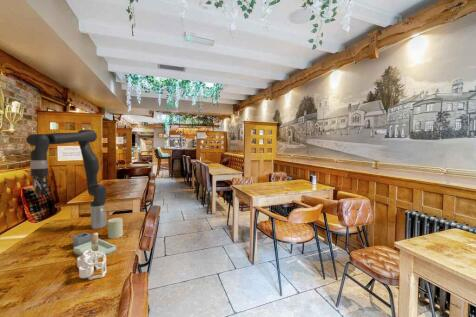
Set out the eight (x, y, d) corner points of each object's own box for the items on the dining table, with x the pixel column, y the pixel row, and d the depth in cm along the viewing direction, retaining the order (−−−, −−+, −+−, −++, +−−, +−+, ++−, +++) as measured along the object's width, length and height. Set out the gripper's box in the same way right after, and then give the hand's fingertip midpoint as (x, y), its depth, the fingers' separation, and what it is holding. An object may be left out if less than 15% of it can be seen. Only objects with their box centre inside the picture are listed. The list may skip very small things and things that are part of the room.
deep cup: (85, 241, 137) (85, 232, 136) (91, 244, 133) (90, 234, 133) (73, 246, 131) (72, 236, 130) (78, 248, 127) (78, 238, 127)
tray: (98, 243, 135) (98, 238, 135) (116, 250, 125) (116, 246, 125) (73, 252, 123) (73, 247, 123) (90, 262, 113) (90, 256, 113)
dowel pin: (96, 248, 126) (96, 232, 126) (99, 249, 125) (99, 233, 124) (90, 250, 123) (89, 234, 123) (93, 252, 122) (92, 235, 121)
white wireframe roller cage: (76, 266, 110) (76, 252, 109) (101, 258, 117) (101, 246, 116) (80, 285, 95) (79, 269, 94) (108, 275, 102) (107, 260, 101)
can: (109, 239, 140) (108, 222, 139) (106, 235, 147) (106, 218, 146) (124, 236, 146) (124, 219, 145) (121, 232, 153) (121, 216, 152)
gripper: (52, 167, 122) (53, 194, 123) (42, 166, 129) (44, 192, 130) (35, 169, 116) (36, 197, 117) (26, 167, 123) (27, 194, 124)
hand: (40, 194), depth 124 cm, fingers open, 8 cm apart
